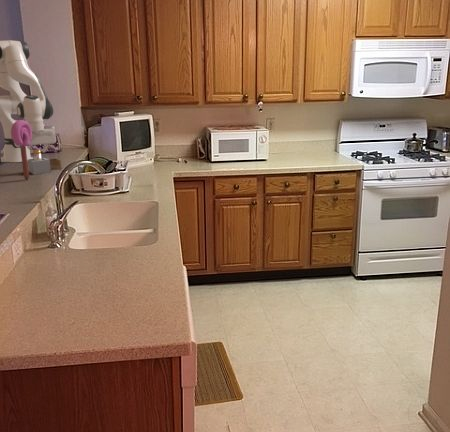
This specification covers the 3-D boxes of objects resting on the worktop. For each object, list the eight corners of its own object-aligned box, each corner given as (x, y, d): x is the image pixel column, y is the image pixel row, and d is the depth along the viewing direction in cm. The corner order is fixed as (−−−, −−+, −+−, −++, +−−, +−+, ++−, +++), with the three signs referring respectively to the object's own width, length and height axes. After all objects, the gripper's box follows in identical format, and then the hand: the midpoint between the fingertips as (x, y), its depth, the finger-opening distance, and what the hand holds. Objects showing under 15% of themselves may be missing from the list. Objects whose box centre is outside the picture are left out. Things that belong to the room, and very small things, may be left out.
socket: (29, 171, 269) (27, 159, 267) (46, 170, 274) (44, 157, 272) (33, 174, 262) (32, 161, 260) (51, 172, 267) (49, 159, 265)
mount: (45, 168, 279) (44, 159, 277) (57, 167, 283) (56, 158, 281) (48, 170, 273) (48, 161, 272) (61, 168, 277) (60, 160, 276)
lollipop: (25, 183, 243) (18, 121, 234) (12, 182, 244) (4, 121, 236) (40, 177, 255) (34, 118, 247) (28, 176, 257) (21, 118, 248)
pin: (35, 172, 269) (32, 150, 265) (42, 171, 271) (39, 149, 267) (37, 173, 266) (34, 151, 262) (44, 172, 268) (41, 150, 264)
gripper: (52, 125, 270) (55, 150, 274) (13, 127, 258) (16, 154, 262) (56, 126, 265) (59, 151, 269) (16, 128, 253) (19, 155, 257)
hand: (37, 152), depth 265 cm, fingers open, 5 cm apart
